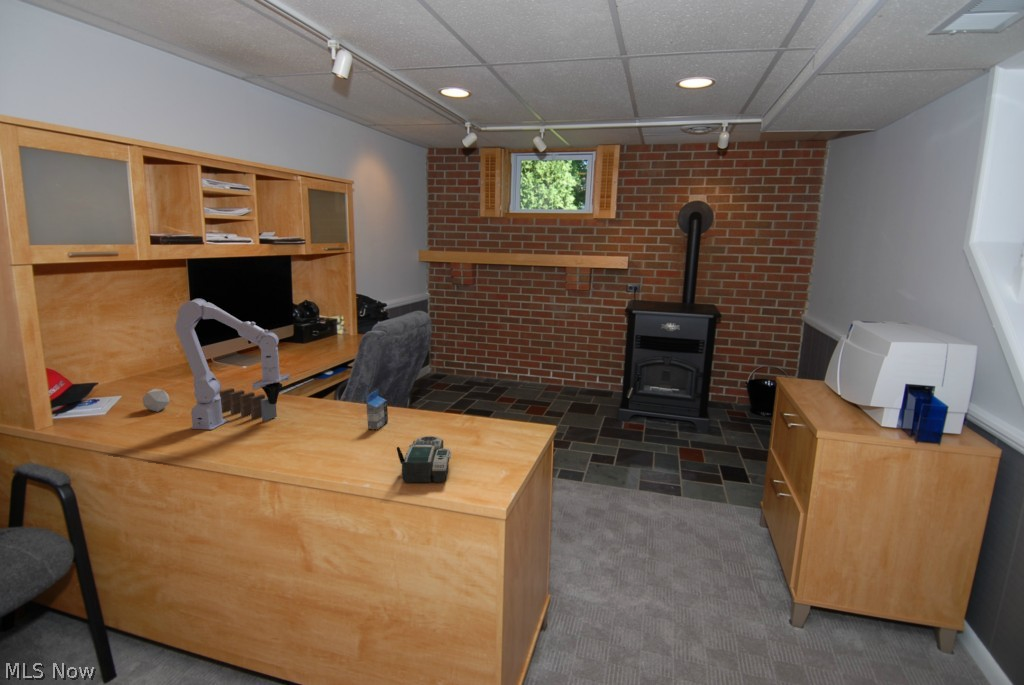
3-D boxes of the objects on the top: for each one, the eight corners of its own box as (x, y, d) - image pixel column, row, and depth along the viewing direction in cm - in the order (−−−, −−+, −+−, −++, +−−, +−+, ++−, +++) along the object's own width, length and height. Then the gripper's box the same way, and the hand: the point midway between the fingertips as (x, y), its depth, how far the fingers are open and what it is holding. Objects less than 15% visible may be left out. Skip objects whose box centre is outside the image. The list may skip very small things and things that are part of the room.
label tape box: (377, 430, 184) (376, 396, 181) (366, 429, 184) (365, 395, 182) (388, 422, 192) (387, 389, 190) (378, 421, 193) (377, 389, 191)
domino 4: (266, 415, 197) (264, 394, 196) (254, 419, 193) (253, 398, 191) (263, 414, 198) (261, 394, 196) (251, 418, 193) (249, 397, 192)
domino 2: (245, 410, 202) (244, 390, 200) (234, 414, 197) (232, 394, 196) (242, 410, 202) (241, 390, 201) (231, 414, 198) (229, 393, 196)
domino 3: (255, 413, 199) (254, 392, 198) (244, 416, 195) (242, 396, 193) (252, 412, 200) (251, 392, 199) (241, 416, 196) (239, 395, 194)
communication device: (454, 446, 172) (454, 416, 170) (448, 485, 145) (448, 449, 143) (410, 446, 172) (410, 415, 170) (395, 485, 144) (395, 448, 142)
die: (176, 410, 203) (172, 387, 206) (160, 405, 195) (156, 381, 198) (155, 417, 203) (152, 394, 206) (138, 413, 195) (135, 389, 198)
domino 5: (276, 417, 195) (275, 396, 193) (265, 421, 190) (263, 400, 189) (273, 417, 195) (272, 396, 194) (262, 421, 191) (260, 399, 190)
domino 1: (235, 408, 204) (234, 388, 203) (224, 412, 200) (222, 391, 198) (233, 408, 205) (231, 388, 203) (221, 411, 200) (219, 391, 199)
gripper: (261, 372, 180) (263, 410, 183) (295, 364, 193) (297, 399, 195) (246, 370, 183) (249, 407, 186) (281, 361, 196) (283, 397, 198)
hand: (273, 403), depth 191 cm, fingers closed
